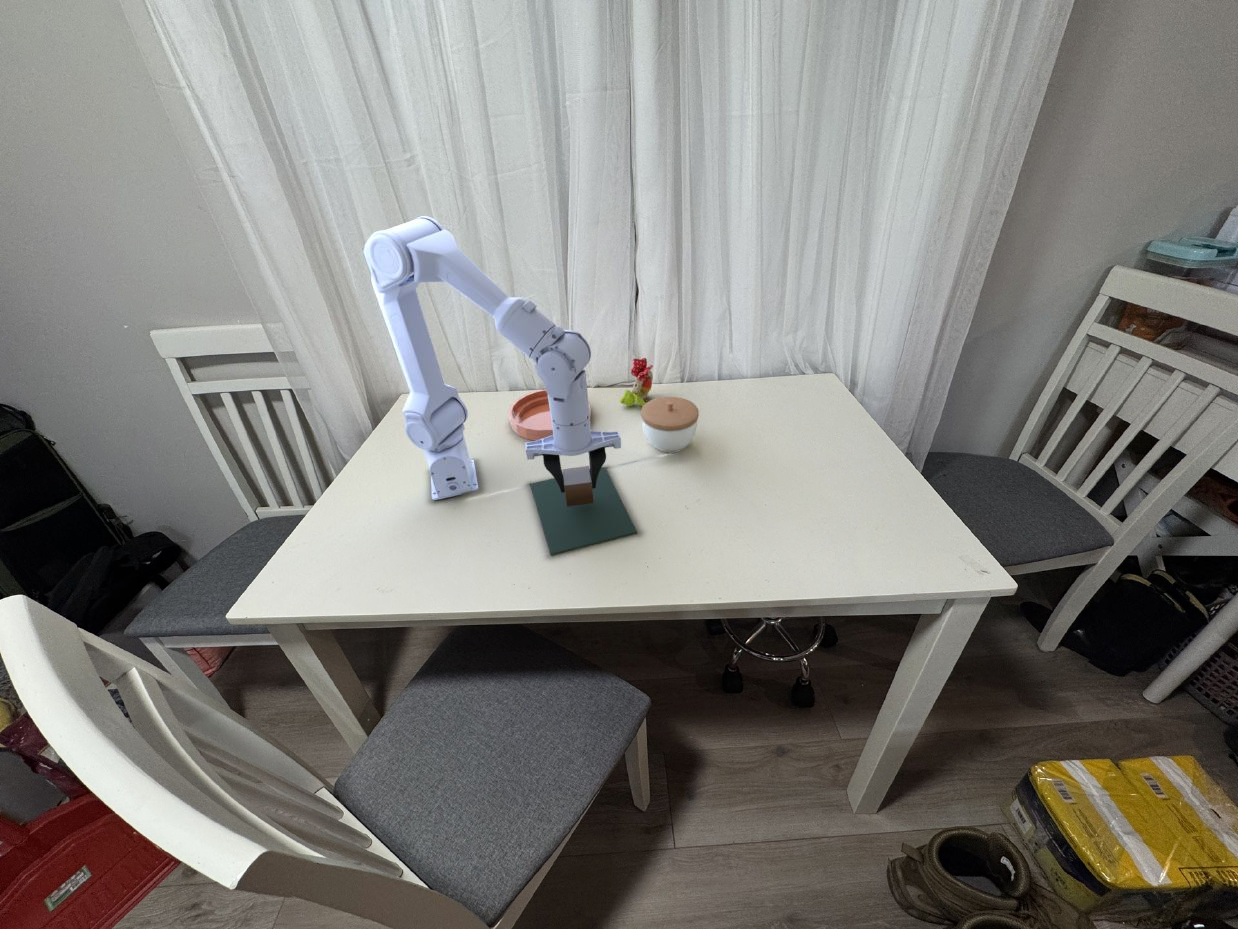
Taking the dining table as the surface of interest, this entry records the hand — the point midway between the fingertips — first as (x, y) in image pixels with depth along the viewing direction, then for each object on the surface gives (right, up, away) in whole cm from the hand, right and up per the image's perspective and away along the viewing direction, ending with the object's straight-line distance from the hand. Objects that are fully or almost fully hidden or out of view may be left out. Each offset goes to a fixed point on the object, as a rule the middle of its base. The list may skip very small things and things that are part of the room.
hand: (578, 486), depth 85 cm
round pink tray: (-8, +13, +25) cm, 29 cm away
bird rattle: (+11, +17, +30) cm, 36 cm away
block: (0, -2, +1) cm, 2 cm away
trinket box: (+17, +7, +17) cm, 25 cm away
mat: (0, -4, +3) cm, 5 cm away
